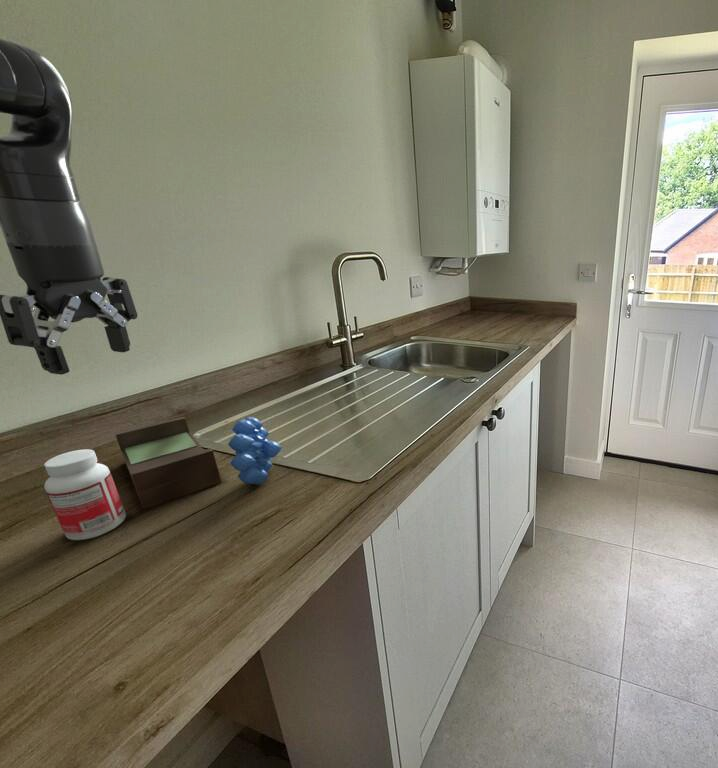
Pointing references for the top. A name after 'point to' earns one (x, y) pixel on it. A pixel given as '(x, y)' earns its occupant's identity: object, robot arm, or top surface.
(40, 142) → the robot arm
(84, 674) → the top surface
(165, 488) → the brown two-tone box
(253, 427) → the grapes
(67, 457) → the pill bottle
